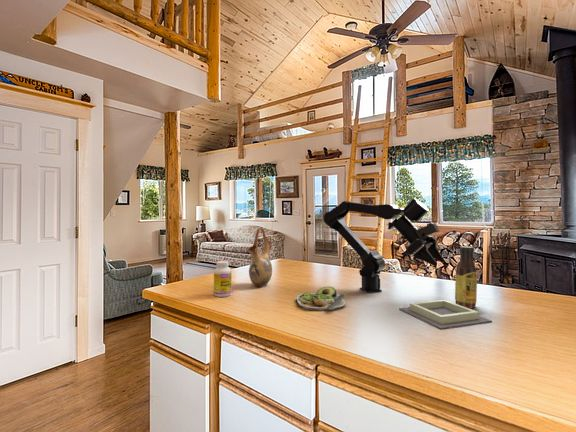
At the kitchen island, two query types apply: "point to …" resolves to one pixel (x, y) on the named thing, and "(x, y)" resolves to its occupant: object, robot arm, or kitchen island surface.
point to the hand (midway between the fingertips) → (439, 263)
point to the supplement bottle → (222, 279)
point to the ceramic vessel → (260, 262)
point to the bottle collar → (462, 314)
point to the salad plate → (322, 299)
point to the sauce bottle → (466, 279)
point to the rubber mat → (443, 312)
